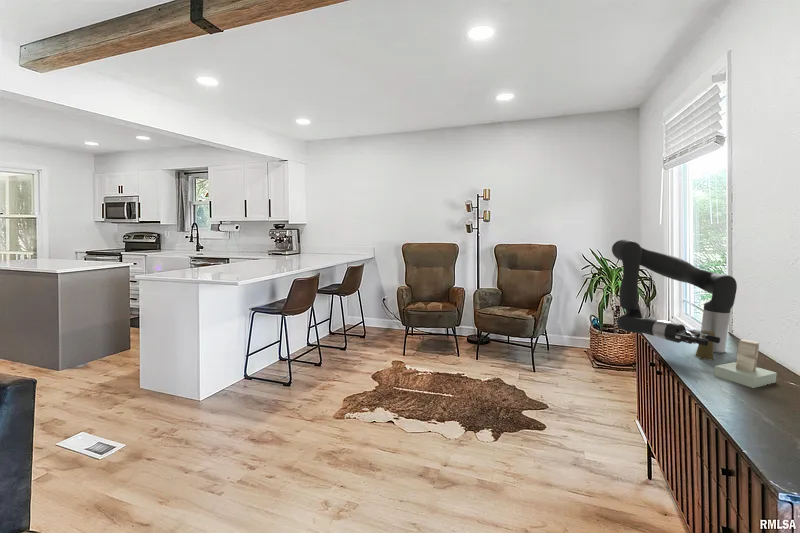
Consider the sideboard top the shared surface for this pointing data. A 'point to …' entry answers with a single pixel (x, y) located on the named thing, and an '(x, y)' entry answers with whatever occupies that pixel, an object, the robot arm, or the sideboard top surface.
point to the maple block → (747, 355)
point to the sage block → (745, 375)
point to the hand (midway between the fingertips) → (714, 341)
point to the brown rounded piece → (705, 348)
